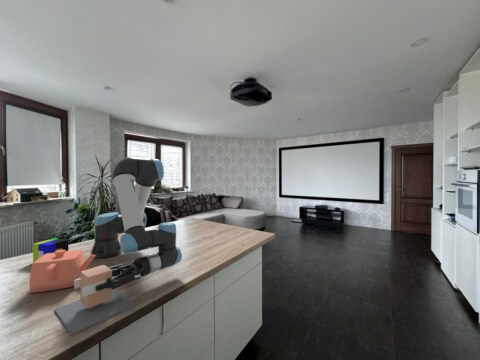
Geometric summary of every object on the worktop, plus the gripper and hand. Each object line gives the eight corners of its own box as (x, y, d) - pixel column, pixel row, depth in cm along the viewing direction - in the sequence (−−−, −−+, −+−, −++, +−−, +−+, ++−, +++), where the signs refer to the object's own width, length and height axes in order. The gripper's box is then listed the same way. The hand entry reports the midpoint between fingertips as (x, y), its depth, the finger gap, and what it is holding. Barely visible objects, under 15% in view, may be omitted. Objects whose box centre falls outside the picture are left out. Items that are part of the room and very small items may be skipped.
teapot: (20, 302, 74) (20, 263, 74) (48, 275, 94) (48, 244, 94) (88, 291, 82) (88, 255, 82) (100, 268, 102) (100, 240, 102)
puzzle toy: (48, 265, 105) (48, 245, 105) (33, 263, 107) (33, 243, 107) (68, 257, 115) (68, 239, 115) (53, 256, 117) (54, 238, 117)
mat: (54, 310, 70) (54, 308, 70) (113, 288, 84) (113, 286, 84) (71, 335, 59) (71, 333, 59) (135, 305, 73) (135, 303, 73)
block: (80, 300, 71) (80, 271, 71) (103, 292, 76) (103, 264, 76) (87, 308, 66) (88, 277, 66) (111, 298, 72) (112, 269, 72)
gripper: (160, 281, 80) (89, 311, 61) (134, 267, 92) (68, 289, 73) (160, 262, 80) (90, 286, 61) (134, 250, 92) (69, 268, 73)
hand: (78, 288), depth 67 cm, fingers closed on block, 7 cm apart
